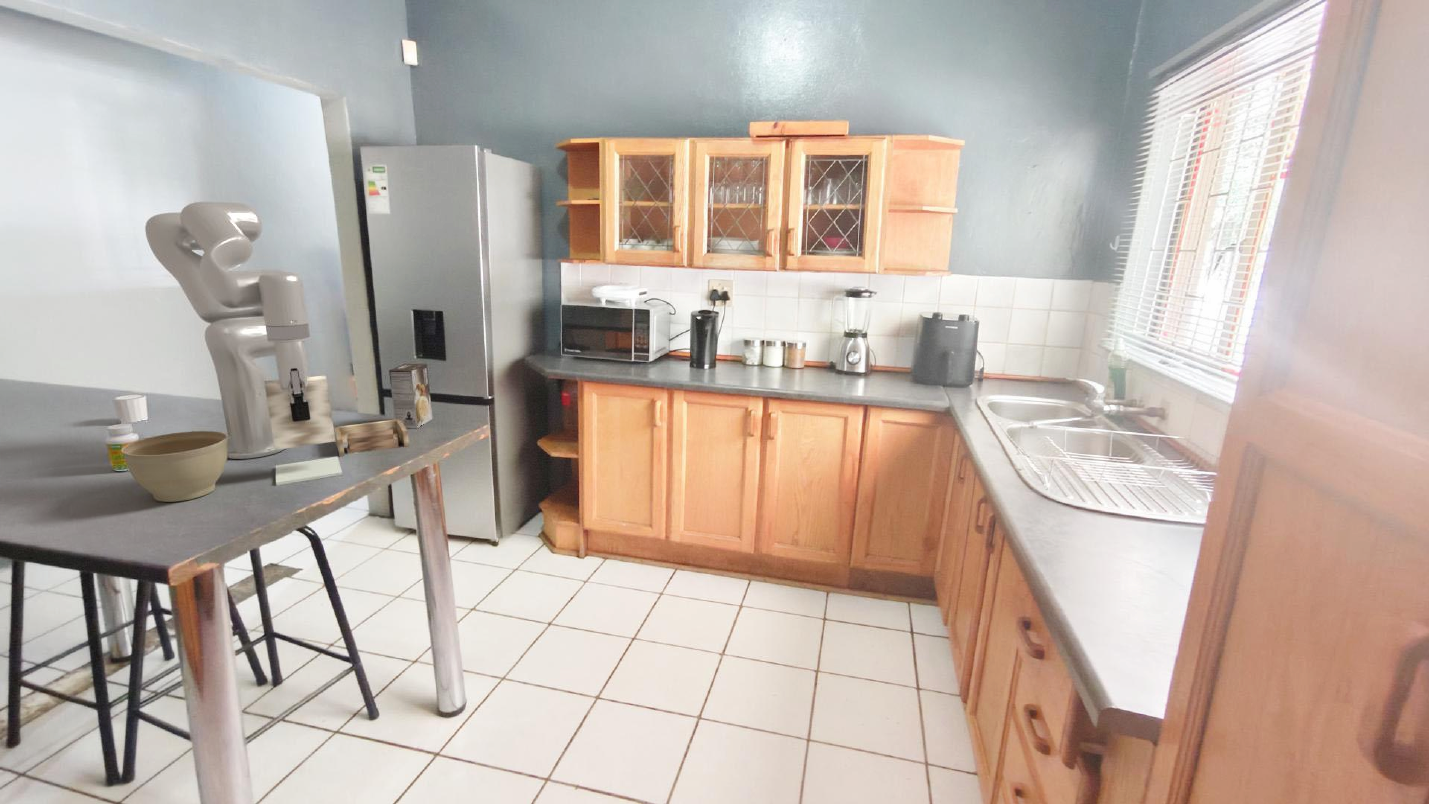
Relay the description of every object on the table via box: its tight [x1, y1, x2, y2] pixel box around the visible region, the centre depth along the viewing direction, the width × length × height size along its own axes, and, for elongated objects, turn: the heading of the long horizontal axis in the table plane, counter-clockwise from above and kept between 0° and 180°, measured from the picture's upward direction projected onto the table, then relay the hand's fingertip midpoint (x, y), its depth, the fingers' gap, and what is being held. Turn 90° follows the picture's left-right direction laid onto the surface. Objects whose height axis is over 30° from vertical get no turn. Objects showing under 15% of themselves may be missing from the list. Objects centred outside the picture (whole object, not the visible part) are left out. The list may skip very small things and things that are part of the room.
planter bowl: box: [121, 430, 228, 503], centre depth 129 cm, size 16×16×11 cm
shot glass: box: [111, 393, 149, 422], centre depth 176 cm, size 7×7×7 cm
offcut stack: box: [346, 429, 400, 455], centre depth 159 cm, size 11×5×4 cm, turn 117°
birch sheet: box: [265, 375, 336, 450], centre depth 140 cm, size 11×4×14 cm, turn 123°
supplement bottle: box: [105, 423, 141, 470], centre depth 142 cm, size 5×5×10 cm
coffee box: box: [388, 363, 434, 429], centre depth 178 cm, size 9×6×16 cm
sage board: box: [275, 456, 343, 486], centre depth 143 cm, size 12×12×1 cm
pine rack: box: [333, 419, 410, 457], centre depth 161 cm, size 15×12×4 cm
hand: (301, 417), depth 140 cm, fingers closed on birch sheet, 4 cm apart
